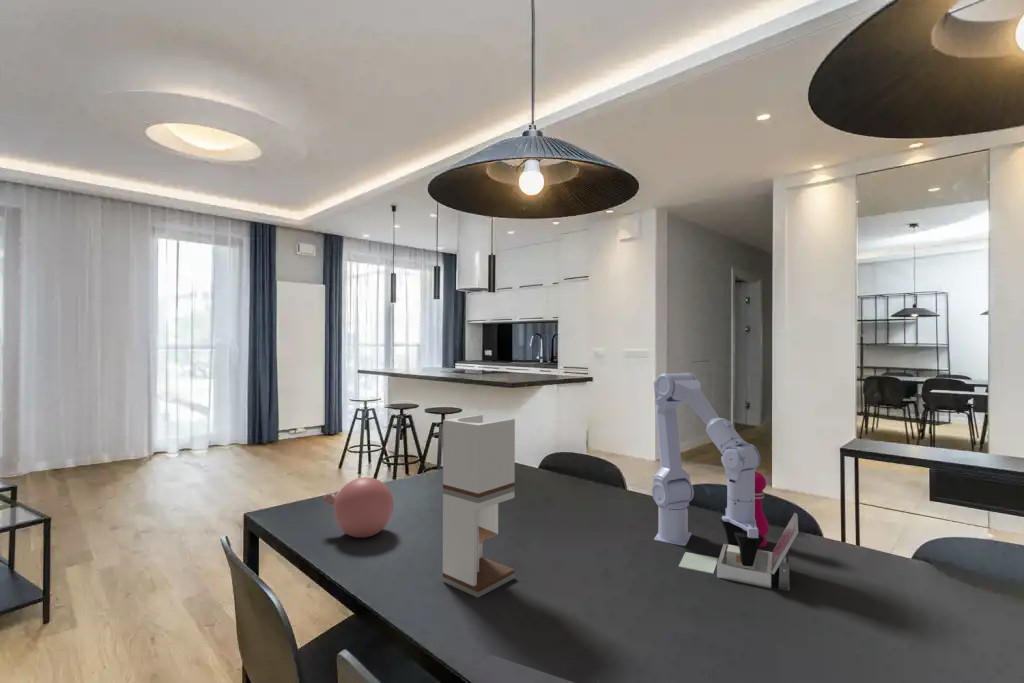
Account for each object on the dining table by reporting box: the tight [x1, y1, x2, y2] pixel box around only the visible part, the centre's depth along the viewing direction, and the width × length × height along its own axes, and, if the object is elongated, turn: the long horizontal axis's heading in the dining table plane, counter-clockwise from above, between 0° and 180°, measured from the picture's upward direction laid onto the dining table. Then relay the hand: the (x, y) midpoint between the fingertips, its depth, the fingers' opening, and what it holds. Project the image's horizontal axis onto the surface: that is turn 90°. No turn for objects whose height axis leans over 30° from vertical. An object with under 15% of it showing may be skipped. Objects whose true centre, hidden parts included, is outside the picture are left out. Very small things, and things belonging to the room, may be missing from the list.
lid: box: [771, 512, 799, 575], centre depth 112 cm, size 13×11×1 cm
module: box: [727, 545, 755, 570], centre depth 116 cm, size 4×6×4 cm
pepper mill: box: [743, 467, 770, 548], centre depth 132 cm, size 7×7×20 cm
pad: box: [678, 551, 719, 574], centre depth 120 cm, size 9×8×1 cm
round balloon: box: [322, 476, 395, 539], centre depth 137 cm, size 15×20×15 cm
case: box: [716, 543, 790, 592], centre depth 115 cm, size 13×14×5 cm
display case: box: [442, 414, 516, 599], centre depth 111 cm, size 11×11×35 cm
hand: (740, 558), depth 116 cm, fingers open, 7 cm apart
